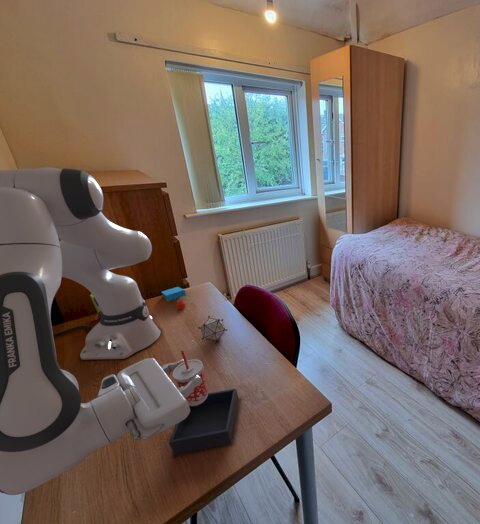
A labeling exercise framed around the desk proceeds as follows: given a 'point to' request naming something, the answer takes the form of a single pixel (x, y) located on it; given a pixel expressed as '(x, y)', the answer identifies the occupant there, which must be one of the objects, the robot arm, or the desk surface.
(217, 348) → the desk surface
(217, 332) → the game die
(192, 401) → the beverage cup
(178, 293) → the lever
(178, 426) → the tote
